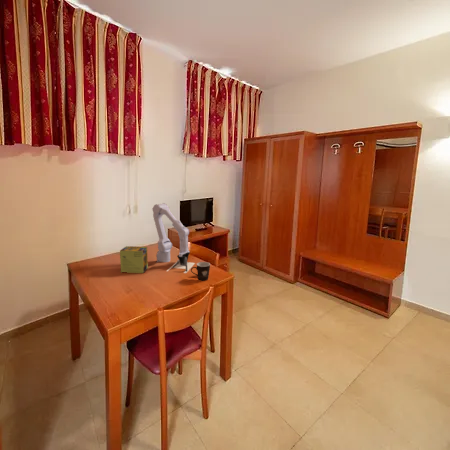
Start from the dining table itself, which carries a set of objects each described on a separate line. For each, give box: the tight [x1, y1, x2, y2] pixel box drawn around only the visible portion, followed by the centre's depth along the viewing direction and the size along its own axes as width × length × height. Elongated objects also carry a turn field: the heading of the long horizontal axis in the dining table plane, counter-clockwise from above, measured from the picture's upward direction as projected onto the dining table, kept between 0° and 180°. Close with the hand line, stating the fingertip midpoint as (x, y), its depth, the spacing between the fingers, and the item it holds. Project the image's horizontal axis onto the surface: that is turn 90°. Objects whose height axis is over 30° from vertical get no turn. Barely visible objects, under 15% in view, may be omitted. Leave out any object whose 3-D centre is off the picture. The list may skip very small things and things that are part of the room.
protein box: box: [119, 245, 149, 274], centre depth 174 cm, size 10×15×16 cm
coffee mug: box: [190, 261, 211, 282], centre depth 163 cm, size 12×9×10 cm
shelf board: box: [166, 261, 196, 274], centre depth 179 cm, size 14×20×2 cm
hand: (183, 263), depth 184 cm, fingers open, 7 cm apart
